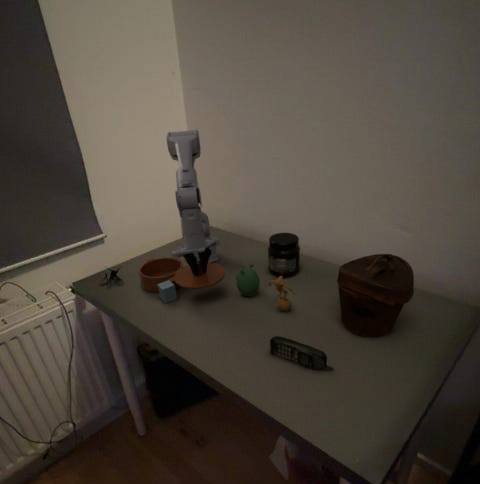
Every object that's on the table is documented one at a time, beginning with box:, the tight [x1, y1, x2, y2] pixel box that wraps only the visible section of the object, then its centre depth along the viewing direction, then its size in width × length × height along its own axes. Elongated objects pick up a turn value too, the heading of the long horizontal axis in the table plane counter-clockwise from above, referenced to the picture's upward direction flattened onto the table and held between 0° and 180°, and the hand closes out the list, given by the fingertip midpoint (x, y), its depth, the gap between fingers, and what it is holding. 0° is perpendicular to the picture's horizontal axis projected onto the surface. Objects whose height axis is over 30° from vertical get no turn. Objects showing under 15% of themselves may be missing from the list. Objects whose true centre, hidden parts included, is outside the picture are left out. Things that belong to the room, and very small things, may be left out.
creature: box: [100, 265, 124, 287], centre depth 118 cm, size 8×5×8 cm
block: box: [157, 280, 178, 304], centre depth 107 cm, size 4×4×5 cm
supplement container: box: [267, 232, 301, 278], centre depth 115 cm, size 10×10×12 cm
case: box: [336, 253, 415, 338], centre depth 87 cm, size 18×20×18 cm
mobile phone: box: [269, 335, 334, 371], centre depth 80 cm, size 5×3×15 cm
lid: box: [174, 261, 226, 290], centre depth 104 cm, size 15×15×5 cm
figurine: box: [268, 276, 296, 312], centre depth 95 cm, size 8×6×12 cm
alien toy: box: [235, 263, 261, 297], centre depth 105 cm, size 7×8×10 cm
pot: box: [138, 256, 184, 294], centre depth 116 cm, size 14×20×6 cm
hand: (199, 273), depth 105 cm, fingers closed on lid, 2 cm apart
